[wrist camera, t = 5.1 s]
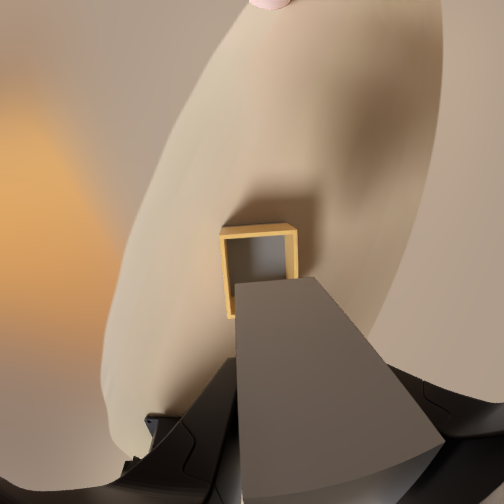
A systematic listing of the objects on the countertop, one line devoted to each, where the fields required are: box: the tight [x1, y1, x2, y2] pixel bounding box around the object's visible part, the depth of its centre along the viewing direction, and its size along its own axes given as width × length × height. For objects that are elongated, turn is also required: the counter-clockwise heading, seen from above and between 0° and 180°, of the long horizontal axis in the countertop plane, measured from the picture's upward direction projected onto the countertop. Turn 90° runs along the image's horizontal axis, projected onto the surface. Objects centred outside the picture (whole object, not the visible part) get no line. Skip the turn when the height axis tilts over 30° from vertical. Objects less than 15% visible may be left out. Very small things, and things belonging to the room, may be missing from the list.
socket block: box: [219, 222, 298, 319], centre depth 18 cm, size 5×5×4 cm
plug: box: [235, 277, 445, 504], centre depth 7 cm, size 4×3×8 cm
